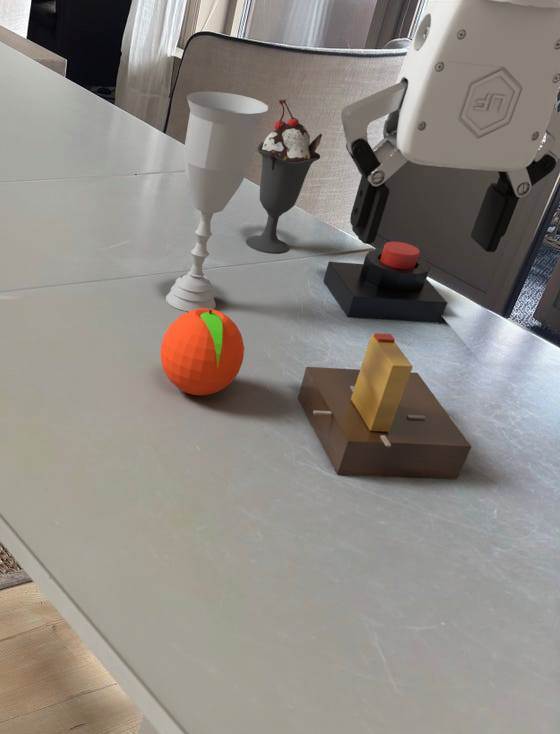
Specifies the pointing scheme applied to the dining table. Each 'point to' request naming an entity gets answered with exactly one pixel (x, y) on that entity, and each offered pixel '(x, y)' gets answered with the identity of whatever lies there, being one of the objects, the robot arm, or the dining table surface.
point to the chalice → (214, 175)
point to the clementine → (202, 351)
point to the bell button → (400, 255)
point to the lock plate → (376, 448)
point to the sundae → (282, 176)
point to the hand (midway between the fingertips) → (422, 241)
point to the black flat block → (384, 290)
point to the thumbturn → (381, 382)
